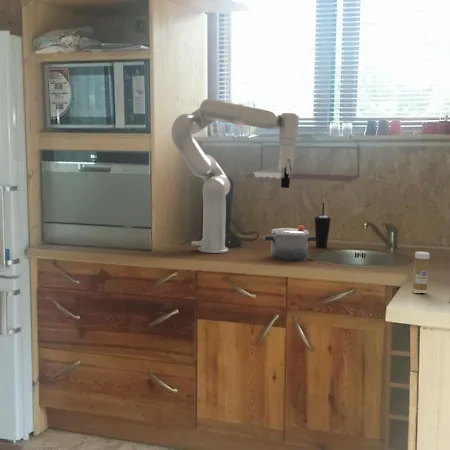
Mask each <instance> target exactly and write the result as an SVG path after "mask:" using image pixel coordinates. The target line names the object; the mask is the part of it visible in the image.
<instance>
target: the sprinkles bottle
mask: <svg viewBox="0 0 450 450" xmlns="http://www.w3.org/2000/svg"><path fill="white" fill-rule="evenodd" d="M429 259H430V253H429V252H427V251H416V252H414V268H413V284H412V285H413V287H412V289H413V288H414V289H417V290H427V289H428V287H427V286H428V276H429V262H430V260H429ZM427 291H428V290H427Z"/></svg>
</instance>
